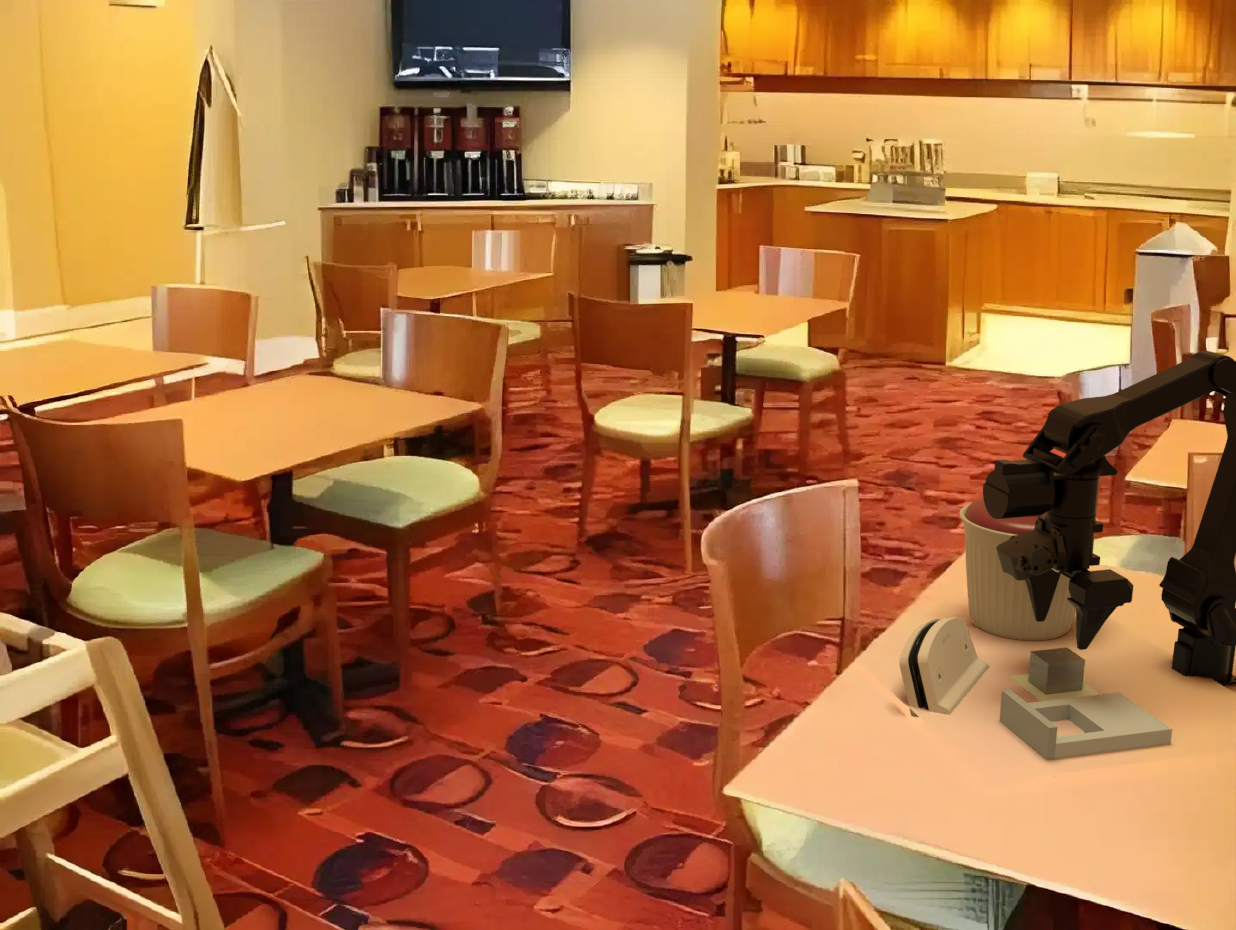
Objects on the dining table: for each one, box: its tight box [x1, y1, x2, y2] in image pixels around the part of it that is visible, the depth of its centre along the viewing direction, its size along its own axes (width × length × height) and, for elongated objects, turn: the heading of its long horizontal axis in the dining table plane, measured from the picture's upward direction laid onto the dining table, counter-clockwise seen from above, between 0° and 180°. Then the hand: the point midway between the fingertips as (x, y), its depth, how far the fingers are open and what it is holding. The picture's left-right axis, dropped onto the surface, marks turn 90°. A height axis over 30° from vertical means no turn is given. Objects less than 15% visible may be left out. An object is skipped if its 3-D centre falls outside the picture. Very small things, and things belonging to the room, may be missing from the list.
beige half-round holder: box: [898, 617, 990, 718], centre depth 166 cm, size 17×5×10 cm, turn 149°
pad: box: [1008, 673, 1101, 702], centre depth 166 cm, size 8×8×1 cm
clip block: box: [1028, 647, 1086, 695], centre depth 165 cm, size 5×4×4 cm
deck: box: [999, 688, 1173, 761], centre depth 153 cm, size 16×10×5 cm, turn 104°
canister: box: [958, 497, 1100, 642], centre depth 184 cm, size 18×18×21 cm
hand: (1060, 634), depth 164 cm, fingers open, 9 cm apart
